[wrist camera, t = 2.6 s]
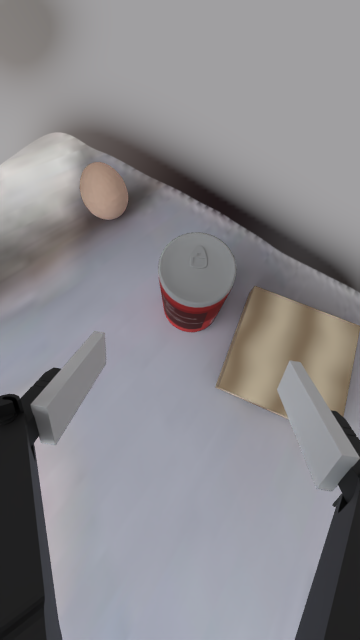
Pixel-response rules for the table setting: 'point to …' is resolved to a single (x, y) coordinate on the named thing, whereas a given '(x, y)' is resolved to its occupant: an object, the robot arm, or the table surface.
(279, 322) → the maple stand
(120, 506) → the table surface
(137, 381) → the table surface
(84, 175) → the egg
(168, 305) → the canned food
